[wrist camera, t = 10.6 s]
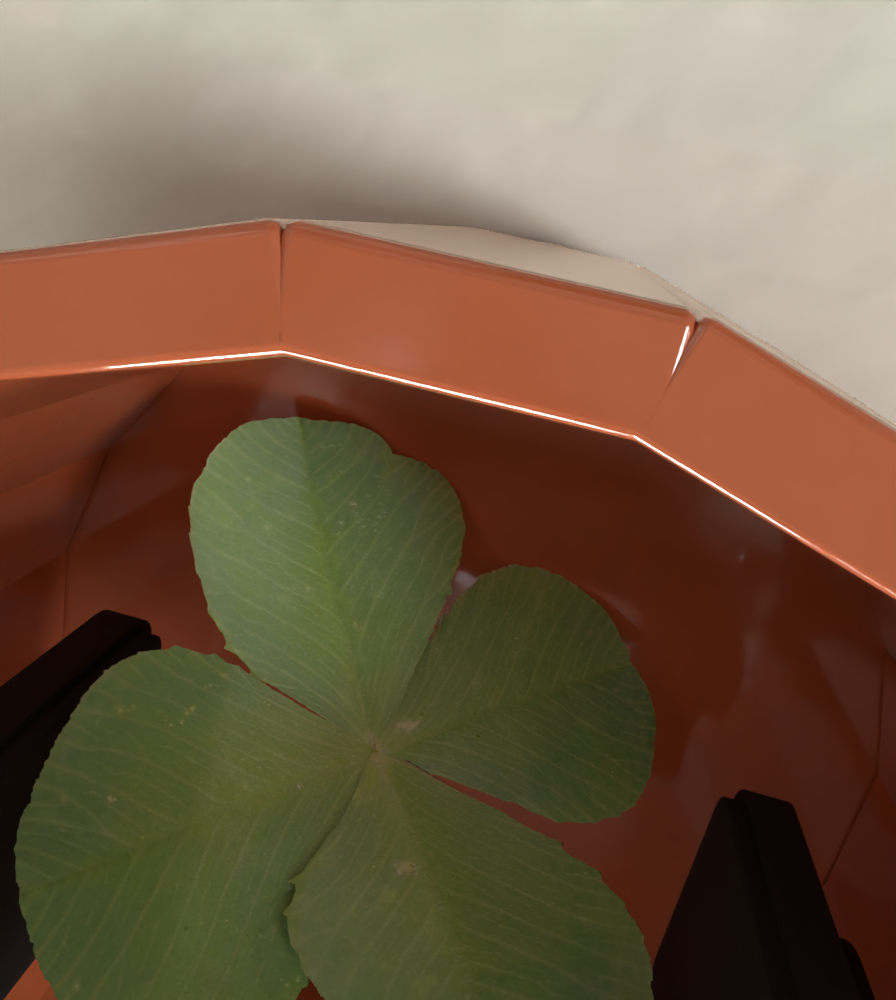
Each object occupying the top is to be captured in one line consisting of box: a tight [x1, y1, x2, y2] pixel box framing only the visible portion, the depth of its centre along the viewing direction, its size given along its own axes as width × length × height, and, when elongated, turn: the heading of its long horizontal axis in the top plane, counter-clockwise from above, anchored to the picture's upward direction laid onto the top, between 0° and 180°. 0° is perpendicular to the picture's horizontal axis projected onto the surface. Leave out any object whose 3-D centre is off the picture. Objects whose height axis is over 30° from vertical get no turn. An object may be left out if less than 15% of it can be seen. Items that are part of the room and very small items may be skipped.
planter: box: [0, 218, 896, 1000], centre depth 9 cm, size 13×13×7 cm
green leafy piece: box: [14, 416, 656, 1000], centre depth 11 cm, size 7×8×7 cm
